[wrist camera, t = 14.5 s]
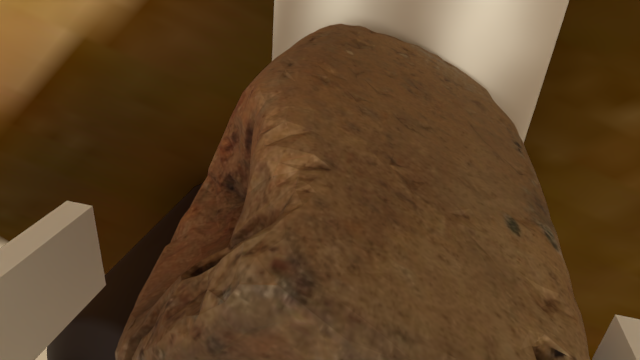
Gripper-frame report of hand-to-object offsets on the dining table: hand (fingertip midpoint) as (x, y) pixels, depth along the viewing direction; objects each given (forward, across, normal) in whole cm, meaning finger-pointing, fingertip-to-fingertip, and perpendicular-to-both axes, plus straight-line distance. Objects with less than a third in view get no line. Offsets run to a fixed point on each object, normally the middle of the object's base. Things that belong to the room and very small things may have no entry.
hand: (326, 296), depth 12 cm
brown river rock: (+16, 0, 0) cm, 16 cm away
